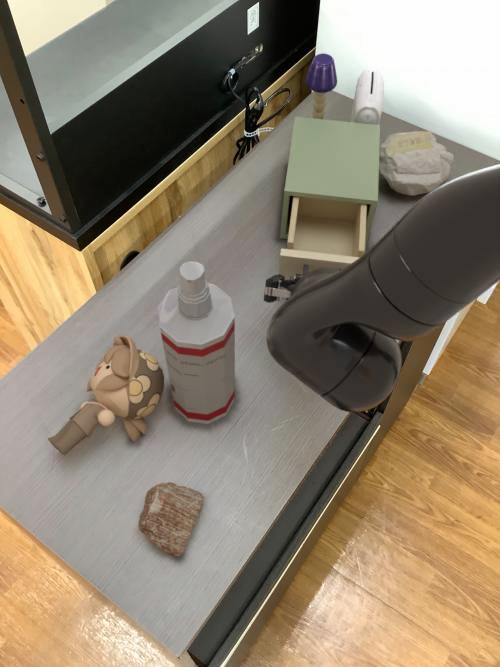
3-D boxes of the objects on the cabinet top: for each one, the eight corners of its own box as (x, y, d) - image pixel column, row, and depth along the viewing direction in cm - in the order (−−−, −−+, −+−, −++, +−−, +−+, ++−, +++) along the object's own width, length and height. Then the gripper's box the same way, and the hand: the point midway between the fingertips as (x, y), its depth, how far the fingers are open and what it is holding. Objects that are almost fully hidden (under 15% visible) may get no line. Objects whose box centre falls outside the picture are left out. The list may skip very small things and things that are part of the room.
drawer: (358, 327, 83) (369, 292, 76) (273, 317, 83) (276, 281, 77) (363, 223, 93) (372, 184, 86) (287, 215, 93) (290, 175, 87)
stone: (160, 555, 69) (186, 561, 66) (120, 534, 66) (146, 539, 63) (185, 494, 73) (212, 497, 69) (148, 472, 70) (174, 474, 66)
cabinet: (365, 248, 91) (378, 200, 83) (279, 238, 92) (284, 190, 84) (368, 174, 100) (380, 125, 92) (290, 166, 100) (294, 116, 92)
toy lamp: (318, 164, 101) (331, 72, 87) (292, 153, 102) (302, 61, 88) (331, 147, 103) (346, 54, 89) (307, 137, 104) (318, 44, 90)
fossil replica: (459, 187, 99) (413, 156, 104) (476, 141, 93) (425, 111, 97) (407, 216, 94) (361, 182, 99) (420, 169, 88) (370, 136, 92)
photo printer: (370, 170, 100) (385, 104, 90) (343, 166, 101) (356, 101, 90) (372, 128, 106) (388, 62, 96) (347, 125, 106) (360, 59, 96)
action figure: (18, 407, 72) (117, 328, 78) (77, 475, 76) (168, 394, 81) (33, 419, 64) (144, 328, 69) (99, 495, 67) (200, 402, 72)
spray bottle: (166, 418, 76) (140, 297, 55) (178, 366, 80) (158, 233, 59) (230, 426, 75) (228, 307, 54) (238, 373, 80) (240, 243, 59)
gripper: (401, 282, 63) (381, 262, 80) (261, 264, 64) (269, 249, 80) (389, 353, 65) (371, 319, 81) (252, 335, 66) (262, 305, 82)
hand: (321, 284), depth 81 cm, fingers closed on drawer, 5 cm apart
